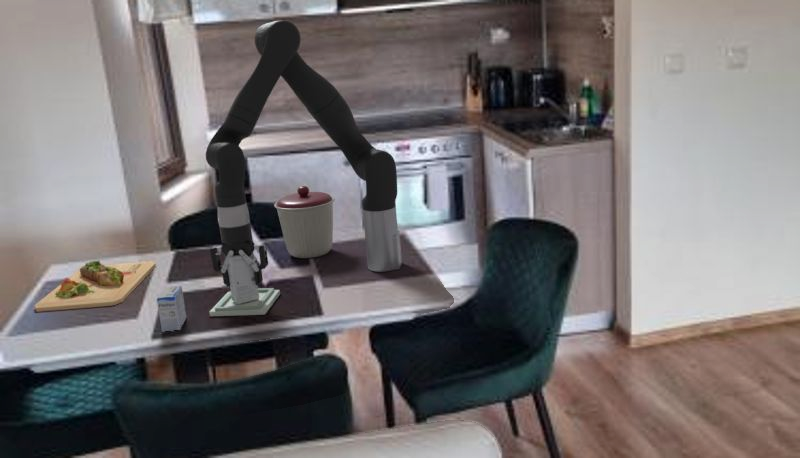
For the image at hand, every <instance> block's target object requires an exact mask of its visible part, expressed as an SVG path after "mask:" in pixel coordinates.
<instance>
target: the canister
mask: <svg viewBox="0 0 800 458" xmlns="http://www.w3.org/2000/svg"><path fill="white" fill-rule="evenodd" d="M335 200H336V199H335V197H334V196H333V195H330V194H329V193H326V192H322V191H321V192H320V191H310V188H309V187H308V186H307V185H301V186H298V188H297V192H296V193H293V194H289V195H286V196H283V197H281V198H279V199H278V201H276V202H275V203H273V204H274V205H273V207H274V208H275V209H276V210H277V216H278V218H279V219H278V220H279V222H280V227H281V231H282V236H283V240H284V243H285V246H286V249H287V252H288V254H289V255H290V256H292V257H294V258H298V259H314V258H318V257H321V256H322V257H323V256H324V255H326V254H329V252H330V251H331V249H332V247H333V234H334V227H333V226H334V221H333V220H334V202H335Z"/></svg>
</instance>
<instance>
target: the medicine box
mask: <svg viewBox="0 0 800 458" xmlns="http://www.w3.org/2000/svg"><path fill="white" fill-rule="evenodd" d="M183 291H184V290H183V287H182V286H179V285H177V286H176V285H175V286H164V287H163V289H162V290H161V292H160V294H159V295H158V297H157V298H156V303H157V309H158V315H159V321H160V326H161V331H162V333H166V332H165V331H171V332H175V331H174V330H179V331H181V330H182V328H181V327H183V326H184V323H185V321H186V319H187V313H186V305H185V298H184V293H183ZM182 325H183V326H182ZM180 329H181V330H180Z"/></svg>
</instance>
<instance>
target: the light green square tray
mask: <svg viewBox="0 0 800 458" xmlns="http://www.w3.org/2000/svg"><path fill="white" fill-rule="evenodd" d="M258 291H259V299H256V300H252V301H248V302H244V303H241V304H237V303H235V302H234V301H233V300H232V297H231V290H230V291H227V293H225V294H224V295H223V296H222V298H221V299H220V300H219V301H217V303H216V304H215V305H214V306H213V307H212V309H210V310H209V311H208V313H209V317H225V316H227V317H229V316H231V317H232V316H233V317H234V316H258V315H266V314H267V313H268V311H269V310H270V308H272V306H273V305H274V303H275V302H276V301H277V299H278V298H279V296H280V295H281V291H280V289H275V288H274V287H262V288H261V287H260V288H259V287H258Z"/></svg>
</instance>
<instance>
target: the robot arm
mask: <svg viewBox="0 0 800 458" xmlns="http://www.w3.org/2000/svg"><path fill="white" fill-rule="evenodd" d="M254 45H255V48H256V50H257V52H258V54H259V55H260V58H259V61H258V63H257V65H256V67H255V68H254V70H253V71H252V74H250V76H249V78H248V79H247V80H246V82H245V83H244V85H243V86H242V87H241V89H240V90H239V92H238V93H237V95H236V96H235V98H234V100H233V102H232V104H231V106H230V108H229V111H228V113H227V115H226V116H225V120H224V122H222V125H221V126H220V127H218V130H216V132H215V134H213V137H212V138H211V139H210V140H209V143H208V145H207V147H206V150H205V160H206V163H207V165H209V166H210V167H211V168H212V169H215V170H218V182H217V183H216V184H215V186H214V187H215V188H214V192H215V193H214V194H215V200H216V201H215V202H216V205H217V206H216V207H217V223H218V225H219V227H218V228H219V233H220V239H221V246H217V245H214V246H212V247H211V248H210V250H209V251H210V256H211V261H212V266H213V270H214V271H215V272H221V275H222V280H223V284H224V286H225V285H226V288H230V283H229V276H228V265H229V259H228V258H229V257H232V256H234V255H241V256H242V257H243V258H244V259H245V261H246V262H247V263H248V264H249V265H250V266H251V267H252V268H253V269H254V270H255V271H254V275H255V282H256V285H258V286H260V285H261V284H262V282H263V281H264V279H263V278H264V277H263V271H262V270H264V269H266V268H267V267H268V265H269V259H268V258H269V257H268V250H267V249H268V248H267V243H266V242H262V243H261V244H255V243H254V240H253V233H252V225H251V220H250V211H249V208H248V203H247V199H246V198H247V197H246V191H245V185H244V184H245V177H246V158H245V154H244V151H243V150H242V148H241V146H240V145H241V143H242V142H243V140H245V139H247V138H248V137H250V136H251V135H252V133H253V131H254V130H255V129H254V128H255V127H256V125H257V122H259V121H258V120H259V118H260V116H261V115H262V112H263V109H264V108H265V106H266V103H267V102H268V99H269V97H270V95H271V93H272V91H273V89H274V88H275V86H276V85H277V83H278V81H279V79H280V78H282V79H283V80H284V81H285V82H286V84H287V85H288V86H289V88H290V89H291V90H292V92H293V93H294V94H295V96H296V97H297V98H298V100H299V101H300V102H301V103H302V105H303V106H304V107H305V109H306V110H307V112H308V113H309V114H310V115H311V116H312V118H313V119H314V120H315V122H316V123H317V124H318V125H319V126H320V128H321V129H322V130H323V131H324V133H326V134H327V136H328V137H329V138H330V139H331V141H332V142H333V143H334V144H336V146H337V147H338V149H339V150H340V151H341V153H342V154H343V155H344V157H345V158H346V160H347V162H348V163H349V165H350V166H351V168H352V169H353V171H354V172H355V174H356V176H357V177H358V178H360V179H361V180H362V181H365V189H366V193H365V196H363V197H362V200H361V208H362V219H363V229H364V237H365V248H366V249H365V250H366V262H367V268H368V270H369V271H373V272H380V273H381V272H390V271H394V270H400V269H401V266H402V264H403V262H402V250H401V247H402V246H401V238H400V237H401V236H400V230H399V228H398V218H397V217H398V216H397V205H396V201H397V197H398V175H397V172H398V171H397V166H396V162H395V159H394V157H393V155H392V154H391V153H389V152H388V151H385V150H381V149H377V148H375V147H374V146H373V145H372V144H371V143H370V142H369V141H368V140H367V138H366V137H365V136H364V135H363V134H362V133H361V130H359V128H358V125H357V123H356V120H355V118H354V115H353V112H352V110H351V108H350V106H349V104H348V103H347V101H346V100H345V99H344V97H343V96H342V95H341V93H340V92H339V91H338V89H337V88H336V87H335V86H334V85H333V84H332V82H329V80H328V79H326V78H325V76H324V77H323V75H321V74H319V72H317V71H316V70H315V69H313V68H312V67H311V66H310V65H308V63H307V62H306V61H305V60H304V59H303V58H302V56H301V55H300V54H299V52H298V50H299V48H300V45H301V34H300V31H299V29H298V27H297V26H296V25H295V24H294V23H293V22H291V21H289V20H275V21H270V22H267V23H264V24H261V26H259V27H258V28H257V29H256V31H255V34H254ZM255 250H256V252H257V254H258V255H259V261H258V258H257V256H256V255H255V254H254V258H253V259H251V258H250V256H251V254H252V253H254V252H255ZM221 254H223V255H224V256H225V259H224V261H223V264H222V261H221ZM226 256H227V257H226Z"/></svg>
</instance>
